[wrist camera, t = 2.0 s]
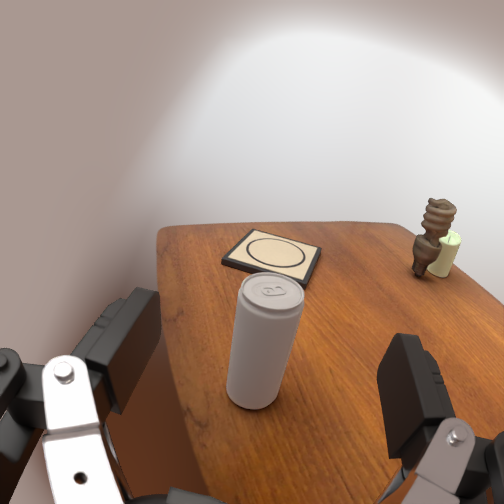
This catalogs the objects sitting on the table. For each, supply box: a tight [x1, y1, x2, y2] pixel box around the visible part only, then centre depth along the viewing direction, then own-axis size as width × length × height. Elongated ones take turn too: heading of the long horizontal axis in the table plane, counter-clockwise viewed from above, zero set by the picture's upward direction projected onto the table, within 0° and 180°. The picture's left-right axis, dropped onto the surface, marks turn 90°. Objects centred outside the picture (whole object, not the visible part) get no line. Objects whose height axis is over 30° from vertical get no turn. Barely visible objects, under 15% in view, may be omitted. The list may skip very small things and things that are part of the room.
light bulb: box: [412, 198, 457, 277], centre depth 50 cm, size 6×6×15 cm
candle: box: [427, 230, 461, 277], centre depth 54 cm, size 5×5×8 cm
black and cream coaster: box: [221, 229, 322, 290], centre depth 52 cm, size 13×13×1 cm
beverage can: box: [226, 272, 304, 409], centre depth 26 cm, size 5×5×12 cm
